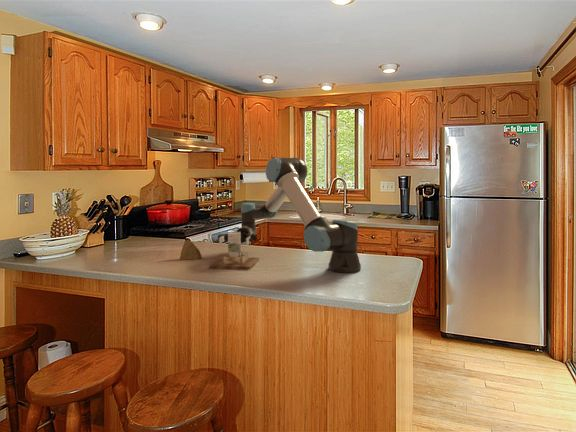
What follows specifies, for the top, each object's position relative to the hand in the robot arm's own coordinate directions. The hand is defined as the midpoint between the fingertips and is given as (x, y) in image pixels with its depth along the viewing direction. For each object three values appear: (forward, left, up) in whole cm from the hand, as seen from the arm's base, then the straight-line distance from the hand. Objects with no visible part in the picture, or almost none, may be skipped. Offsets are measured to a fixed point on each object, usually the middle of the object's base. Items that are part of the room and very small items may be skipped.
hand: (233, 241), depth 213 cm
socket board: (+2, -2, -12) cm, 12 cm away
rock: (+27, +10, -12) cm, 31 cm away
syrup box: (+2, -2, -11) cm, 11 cm away
